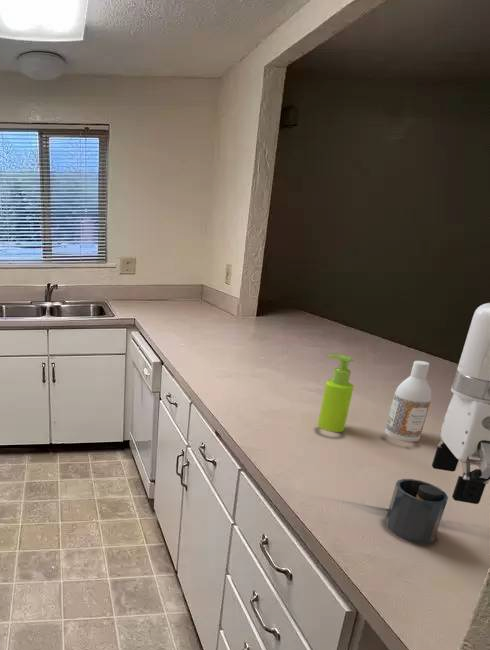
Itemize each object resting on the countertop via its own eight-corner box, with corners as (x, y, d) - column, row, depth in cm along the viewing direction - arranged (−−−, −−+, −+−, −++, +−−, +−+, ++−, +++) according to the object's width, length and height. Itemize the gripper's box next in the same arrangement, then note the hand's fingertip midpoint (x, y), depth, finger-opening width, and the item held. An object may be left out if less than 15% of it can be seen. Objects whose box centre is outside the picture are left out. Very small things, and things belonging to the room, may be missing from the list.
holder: (427, 521, 77) (439, 483, 75) (440, 547, 71) (454, 507, 69) (381, 512, 80) (391, 475, 77) (390, 536, 74) (402, 497, 71)
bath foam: (394, 446, 103) (416, 367, 96) (377, 433, 109) (396, 357, 103) (424, 447, 103) (448, 367, 96) (405, 433, 109) (427, 358, 102)
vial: (431, 536, 73) (409, 532, 74) (426, 525, 76) (405, 521, 77) (444, 496, 70) (422, 492, 71) (438, 486, 73) (417, 482, 74)
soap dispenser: (319, 423, 115) (334, 351, 108) (347, 432, 110) (364, 357, 103) (308, 429, 112) (322, 355, 105) (336, 439, 107) (352, 362, 100)
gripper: (550, 412, 56) (507, 521, 62) (491, 371, 71) (461, 462, 77) (478, 404, 59) (443, 510, 65) (436, 366, 74) (411, 455, 80)
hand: (453, 484), depth 71 cm, fingers open, 9 cm apart
